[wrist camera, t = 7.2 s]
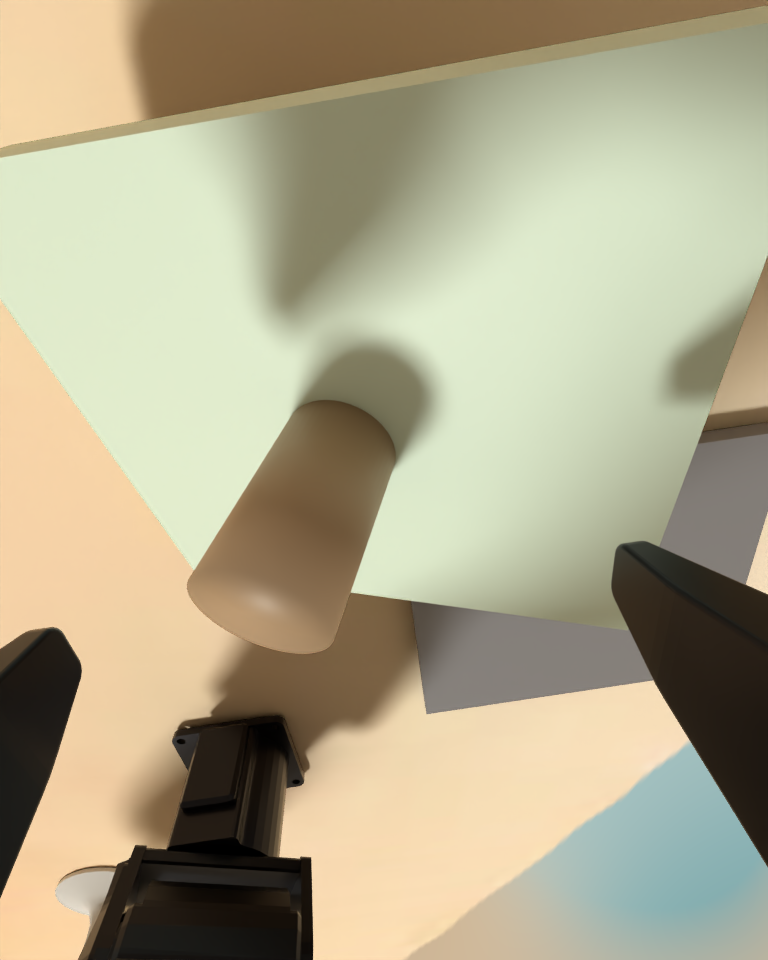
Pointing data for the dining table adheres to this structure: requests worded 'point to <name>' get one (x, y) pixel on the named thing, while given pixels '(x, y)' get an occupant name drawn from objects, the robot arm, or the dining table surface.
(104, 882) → the wineglass
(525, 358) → the lid
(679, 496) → the mat
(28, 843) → the dining table surface
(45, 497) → the dining table surface
